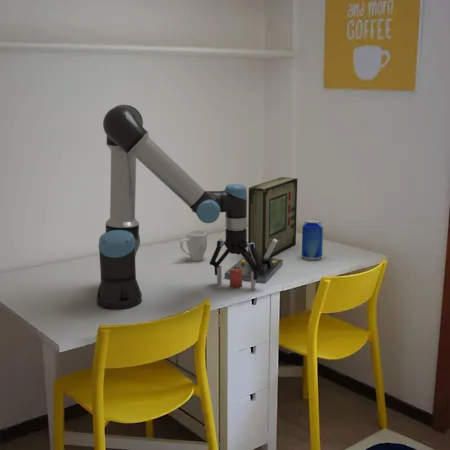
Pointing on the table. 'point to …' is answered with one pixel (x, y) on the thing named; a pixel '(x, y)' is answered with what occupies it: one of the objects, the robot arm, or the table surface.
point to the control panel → (272, 215)
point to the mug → (195, 244)
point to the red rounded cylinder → (236, 278)
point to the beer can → (312, 239)
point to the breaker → (270, 249)
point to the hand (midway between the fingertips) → (236, 285)
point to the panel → (248, 271)
